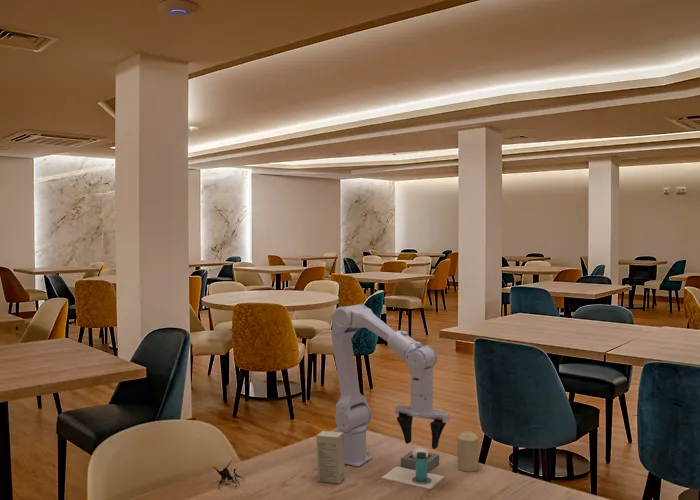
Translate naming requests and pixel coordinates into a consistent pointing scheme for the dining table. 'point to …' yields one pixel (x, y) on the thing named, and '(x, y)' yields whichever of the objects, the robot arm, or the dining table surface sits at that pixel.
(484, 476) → the dining table surface
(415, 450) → the button
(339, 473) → the skincare box
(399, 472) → the paper
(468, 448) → the candle
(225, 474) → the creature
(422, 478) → the bottle
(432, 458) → the button housing
